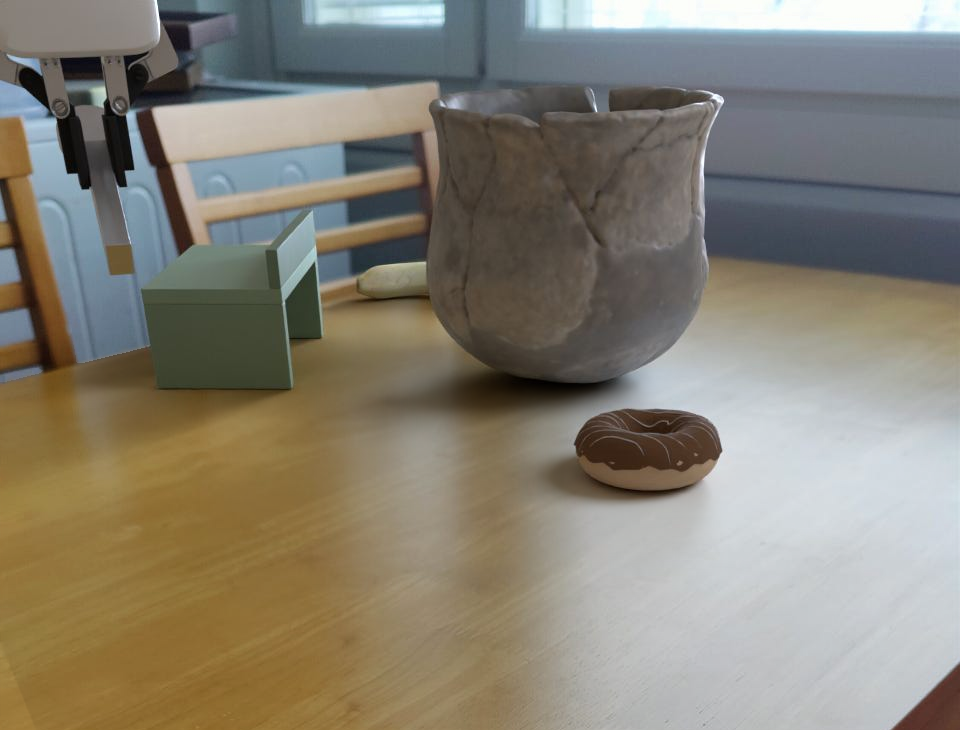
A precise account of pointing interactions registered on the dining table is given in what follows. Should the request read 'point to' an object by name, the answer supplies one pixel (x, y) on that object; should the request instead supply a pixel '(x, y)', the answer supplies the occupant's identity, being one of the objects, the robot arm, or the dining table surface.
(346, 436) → the dining table surface
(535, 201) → the pot
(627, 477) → the donut
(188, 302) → the green toy chair
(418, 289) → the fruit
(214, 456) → the dining table surface
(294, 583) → the dining table surface
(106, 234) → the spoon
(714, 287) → the dining table surface
